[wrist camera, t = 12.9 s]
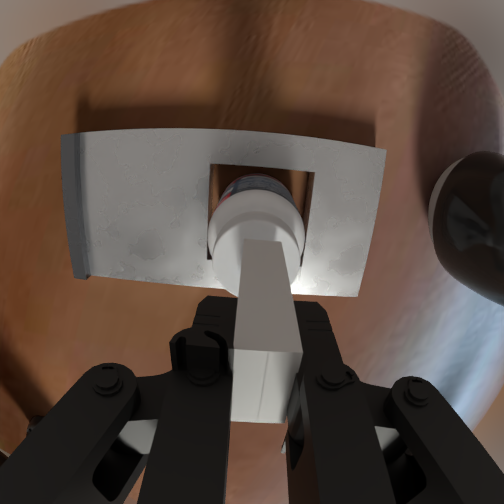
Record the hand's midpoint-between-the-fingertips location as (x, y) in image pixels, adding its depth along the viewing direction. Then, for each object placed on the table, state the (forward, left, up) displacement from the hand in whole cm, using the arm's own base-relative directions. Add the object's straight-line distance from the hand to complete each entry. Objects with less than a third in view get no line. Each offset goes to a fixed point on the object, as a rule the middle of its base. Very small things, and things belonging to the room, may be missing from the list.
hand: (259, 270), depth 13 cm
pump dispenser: (+17, +2, -10) cm, 20 cm away
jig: (-3, 0, -10) cm, 10 cm away
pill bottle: (0, 0, -10) cm, 10 cm away
